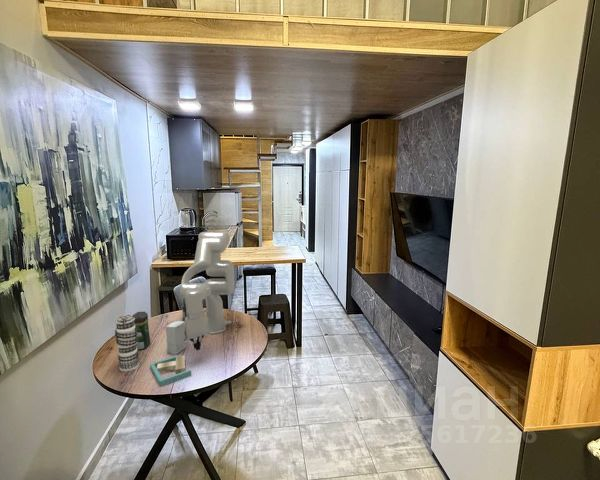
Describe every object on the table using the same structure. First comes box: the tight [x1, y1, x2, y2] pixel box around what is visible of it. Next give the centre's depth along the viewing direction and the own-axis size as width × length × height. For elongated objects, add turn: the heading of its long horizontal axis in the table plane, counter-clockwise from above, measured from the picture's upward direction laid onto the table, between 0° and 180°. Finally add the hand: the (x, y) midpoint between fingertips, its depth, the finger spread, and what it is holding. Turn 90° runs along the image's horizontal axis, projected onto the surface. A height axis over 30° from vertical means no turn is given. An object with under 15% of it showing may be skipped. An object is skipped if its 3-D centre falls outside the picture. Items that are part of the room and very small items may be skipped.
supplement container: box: [181, 299, 187, 322], centre depth 208 cm, size 10×10×12 cm
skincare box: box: [165, 320, 187, 355], centre depth 168 cm, size 8×6×15 cm
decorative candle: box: [114, 314, 140, 372], centre depth 152 cm, size 9×9×25 cm
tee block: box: [157, 354, 186, 375], centre depth 151 cm, size 12×12×3 cm
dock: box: [149, 354, 192, 387], centre depth 149 cm, size 14×17×2 cm
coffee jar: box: [131, 311, 151, 351], centre depth 172 cm, size 10×8×19 cm
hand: (197, 348), depth 157 cm, fingers closed
